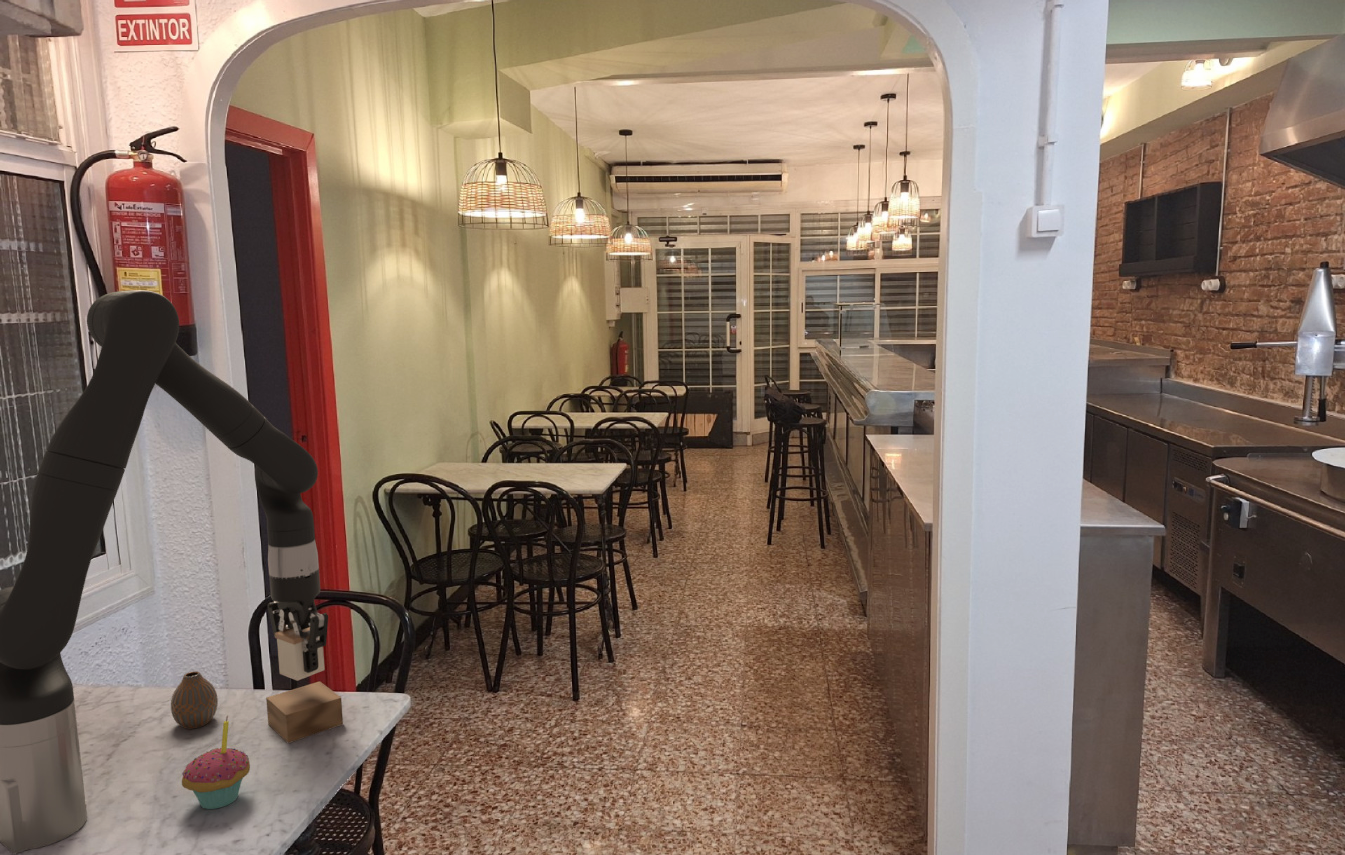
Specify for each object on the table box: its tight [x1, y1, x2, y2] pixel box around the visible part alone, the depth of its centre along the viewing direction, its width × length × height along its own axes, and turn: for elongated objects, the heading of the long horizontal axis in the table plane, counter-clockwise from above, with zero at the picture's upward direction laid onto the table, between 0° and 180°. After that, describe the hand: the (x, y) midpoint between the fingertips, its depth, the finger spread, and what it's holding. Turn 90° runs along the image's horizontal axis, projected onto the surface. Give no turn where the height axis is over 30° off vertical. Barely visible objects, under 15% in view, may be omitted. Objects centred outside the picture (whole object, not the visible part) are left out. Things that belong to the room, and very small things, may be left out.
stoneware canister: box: [274, 627, 325, 682], centre depth 143 cm, size 5×5×7 cm
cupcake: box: [181, 715, 251, 810], centre depth 122 cm, size 9×8×12 cm
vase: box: [170, 670, 219, 730], centre depth 145 cm, size 7×7×9 cm
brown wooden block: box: [265, 681, 344, 744], centre depth 145 cm, size 9×9×5 cm
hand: (301, 666), depth 144 cm, fingers closed on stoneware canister, 5 cm apart
